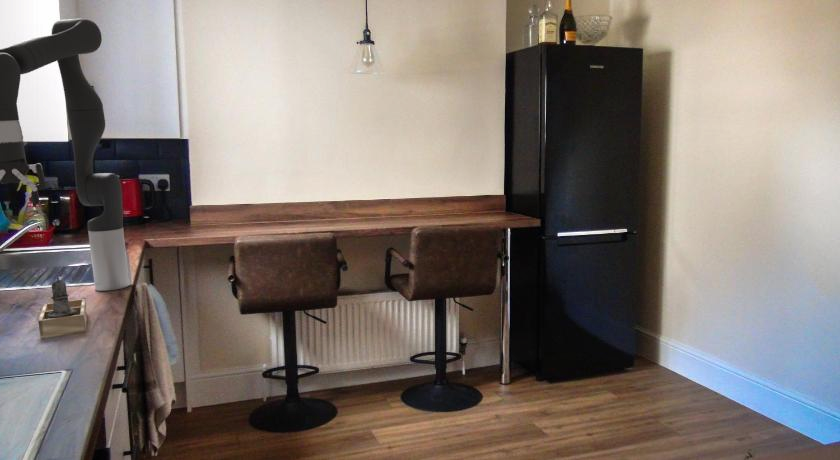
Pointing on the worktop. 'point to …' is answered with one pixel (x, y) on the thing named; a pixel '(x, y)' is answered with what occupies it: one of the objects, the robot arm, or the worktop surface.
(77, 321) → the caddy
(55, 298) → the grey stone statue
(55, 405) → the worktop surface
